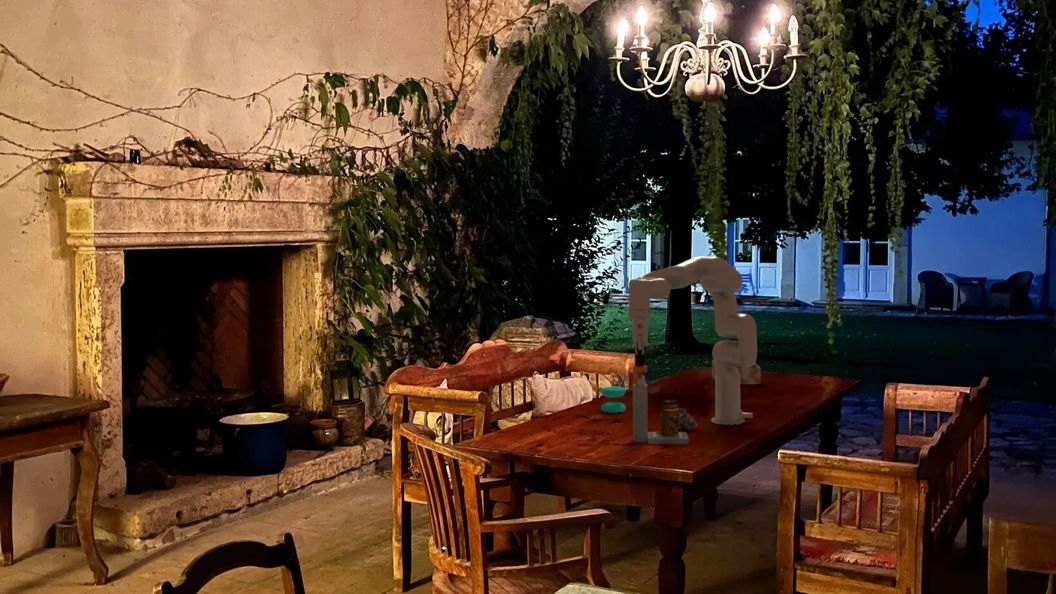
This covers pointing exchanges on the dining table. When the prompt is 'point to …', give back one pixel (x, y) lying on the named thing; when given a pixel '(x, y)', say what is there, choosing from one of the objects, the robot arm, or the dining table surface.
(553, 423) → the dining table surface
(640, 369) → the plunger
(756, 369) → the toy crate
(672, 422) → the condiment
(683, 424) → the mineral specimen
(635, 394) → the grey l-shaped piece
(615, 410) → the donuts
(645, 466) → the dining table surface
